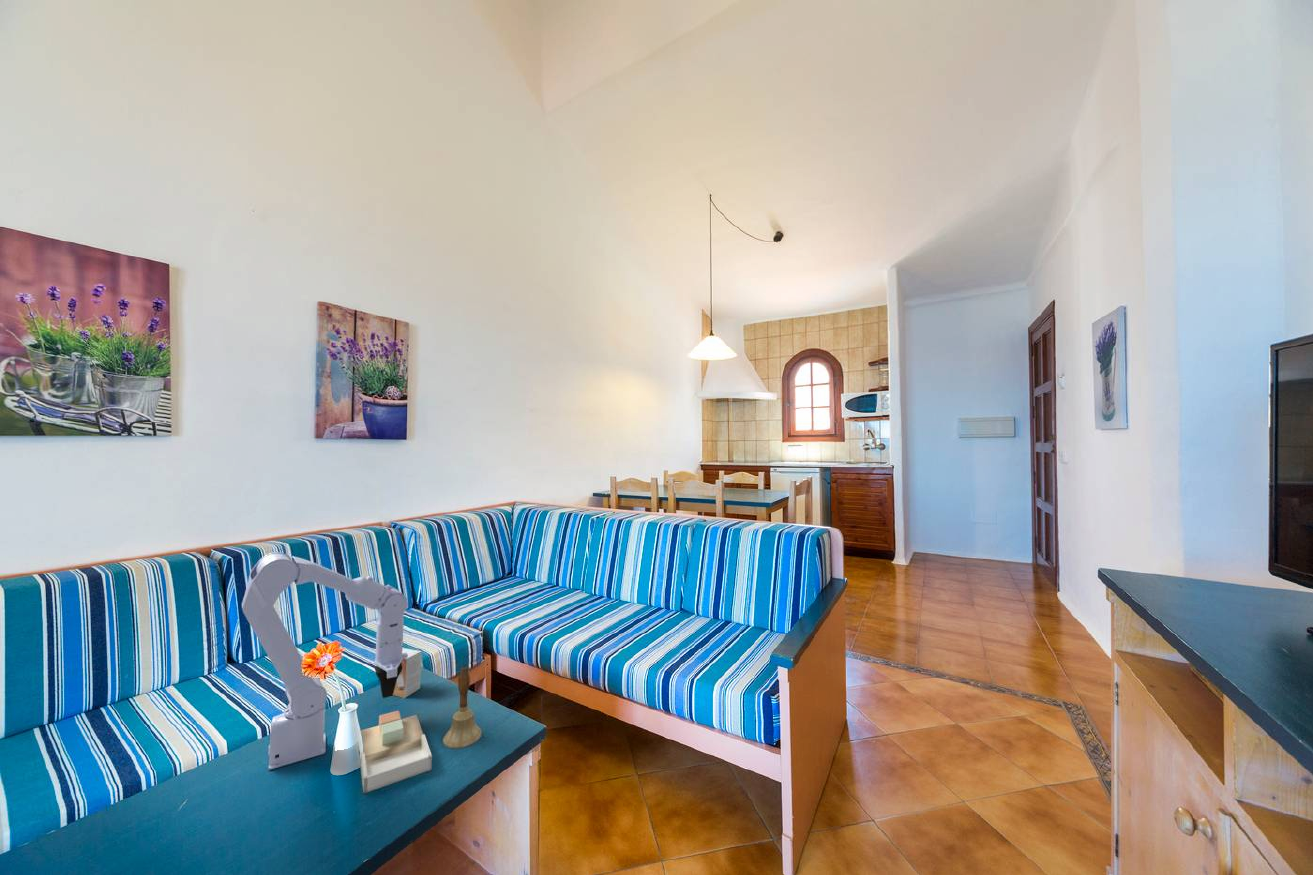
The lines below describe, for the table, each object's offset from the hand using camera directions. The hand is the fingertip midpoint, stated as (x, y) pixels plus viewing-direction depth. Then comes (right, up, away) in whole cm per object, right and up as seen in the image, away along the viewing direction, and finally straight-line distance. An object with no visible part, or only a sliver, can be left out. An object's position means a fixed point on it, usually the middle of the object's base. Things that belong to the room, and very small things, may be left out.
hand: (387, 695), depth 112 cm
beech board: (+6, -6, -8) cm, 12 cm away
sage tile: (+7, -4, -10) cm, 12 cm away
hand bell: (+21, -7, -6) cm, 23 cm away
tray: (+12, -6, -17) cm, 21 cm away
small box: (-5, -7, +14) cm, 17 cm away
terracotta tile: (+4, -4, -6) cm, 8 cm away
